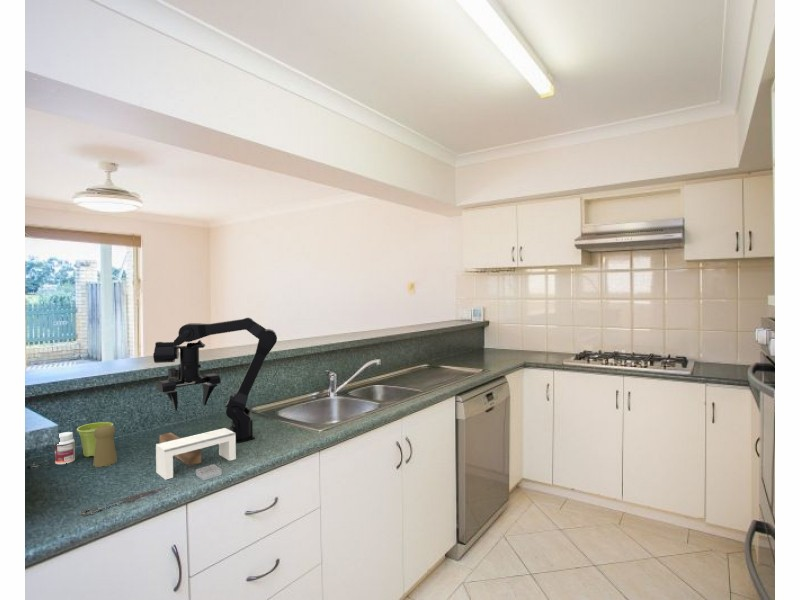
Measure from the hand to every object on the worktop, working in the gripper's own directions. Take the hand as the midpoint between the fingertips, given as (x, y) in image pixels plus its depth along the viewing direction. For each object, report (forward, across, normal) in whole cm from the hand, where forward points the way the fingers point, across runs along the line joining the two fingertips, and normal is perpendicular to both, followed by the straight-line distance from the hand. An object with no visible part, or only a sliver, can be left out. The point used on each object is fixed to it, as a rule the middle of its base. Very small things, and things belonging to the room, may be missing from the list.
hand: (190, 408), depth 148 cm
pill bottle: (+12, +32, -12) cm, 36 cm away
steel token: (+12, +6, +29) cm, 32 cm away
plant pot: (+12, +24, -13) cm, 30 cm away
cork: (+12, +24, -2) cm, 27 cm away
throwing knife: (+13, +26, +29) cm, 41 cm away
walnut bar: (+12, +6, +6) cm, 15 cm away
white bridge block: (+12, +6, +20) cm, 24 cm away
